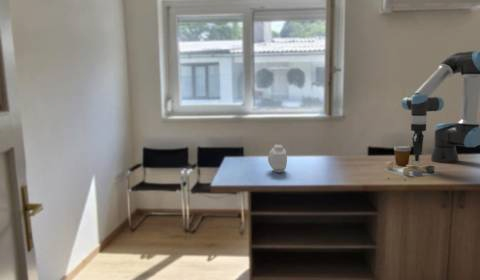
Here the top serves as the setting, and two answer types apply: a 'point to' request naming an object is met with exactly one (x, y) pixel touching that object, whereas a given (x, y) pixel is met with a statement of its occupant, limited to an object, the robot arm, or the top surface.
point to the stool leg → (421, 168)
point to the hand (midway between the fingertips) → (417, 166)
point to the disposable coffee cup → (402, 155)
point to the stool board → (406, 171)
